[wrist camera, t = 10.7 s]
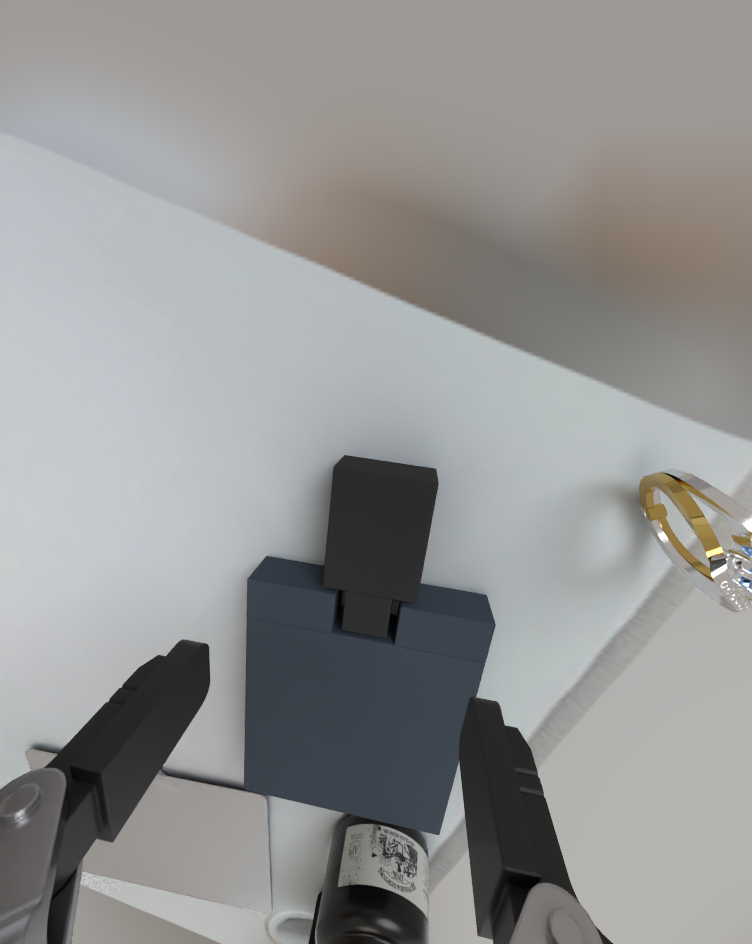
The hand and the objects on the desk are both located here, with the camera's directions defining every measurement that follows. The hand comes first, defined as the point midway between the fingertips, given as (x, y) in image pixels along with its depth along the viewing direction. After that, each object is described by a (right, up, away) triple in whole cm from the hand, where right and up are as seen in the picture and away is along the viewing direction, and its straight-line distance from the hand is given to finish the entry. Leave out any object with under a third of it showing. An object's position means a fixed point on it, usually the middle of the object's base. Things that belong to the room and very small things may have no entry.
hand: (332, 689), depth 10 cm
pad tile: (+1, +2, +14) cm, 14 cm away
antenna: (-22, -29, +25) cm, 44 cm away
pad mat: (0, -10, +17) cm, 20 cm away
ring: (+18, +4, +11) cm, 22 cm away
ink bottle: (+2, -28, +22) cm, 36 cm away
